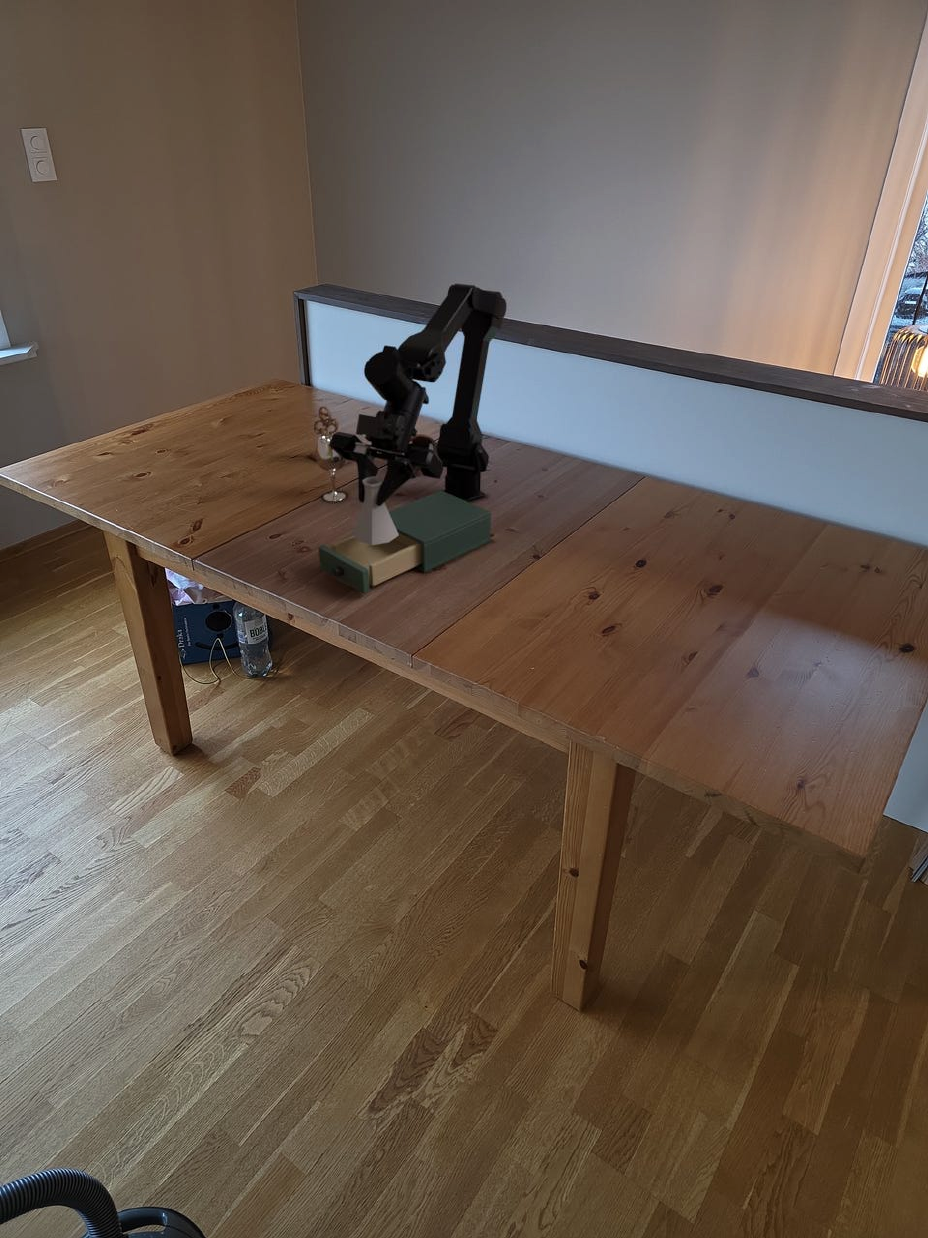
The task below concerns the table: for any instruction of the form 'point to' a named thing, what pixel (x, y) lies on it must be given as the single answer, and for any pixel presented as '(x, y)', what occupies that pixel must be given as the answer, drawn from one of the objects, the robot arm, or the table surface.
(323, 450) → the wineglass
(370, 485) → the flask
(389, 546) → the drawer
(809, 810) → the table surface
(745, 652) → the table surface
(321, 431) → the brown looped piece
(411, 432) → the robot arm
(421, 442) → the pottery mug
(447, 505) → the cabinet
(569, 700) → the table surface
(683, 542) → the table surface
